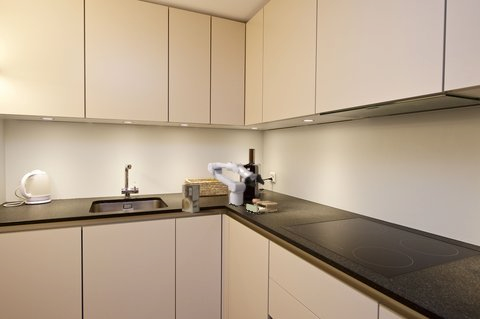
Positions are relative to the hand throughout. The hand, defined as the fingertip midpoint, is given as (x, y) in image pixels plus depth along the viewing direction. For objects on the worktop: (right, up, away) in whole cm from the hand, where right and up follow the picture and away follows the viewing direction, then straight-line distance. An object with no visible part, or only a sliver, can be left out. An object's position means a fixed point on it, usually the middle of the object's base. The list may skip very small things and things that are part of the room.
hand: (259, 184), depth 174 cm
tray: (-2, -16, -4) cm, 17 cm away
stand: (-2, -16, +8) cm, 18 cm away
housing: (+5, -16, 0) cm, 17 cm away
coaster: (-2, -12, +8) cm, 15 cm away
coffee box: (-42, -16, -5) cm, 46 cm away
